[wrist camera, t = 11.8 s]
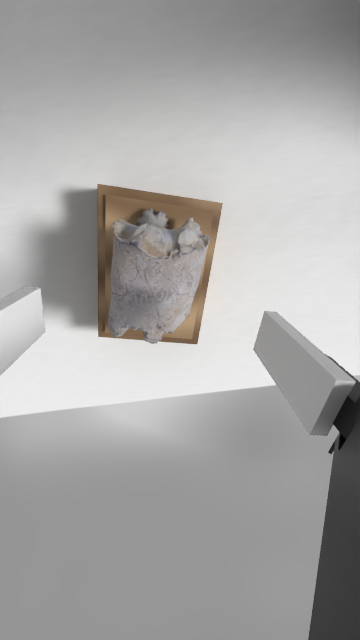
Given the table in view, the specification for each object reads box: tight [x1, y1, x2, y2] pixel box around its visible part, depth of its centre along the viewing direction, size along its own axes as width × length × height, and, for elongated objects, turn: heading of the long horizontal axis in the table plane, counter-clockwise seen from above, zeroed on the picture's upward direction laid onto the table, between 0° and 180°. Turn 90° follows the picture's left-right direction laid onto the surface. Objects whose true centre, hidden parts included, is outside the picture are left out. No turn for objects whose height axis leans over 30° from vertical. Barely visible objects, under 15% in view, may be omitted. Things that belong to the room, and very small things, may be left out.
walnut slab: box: [98, 184, 223, 344], centre depth 27 cm, size 16×12×4 cm
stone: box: [108, 208, 210, 343], centre depth 22 cm, size 8×12×7 cm, turn 169°
